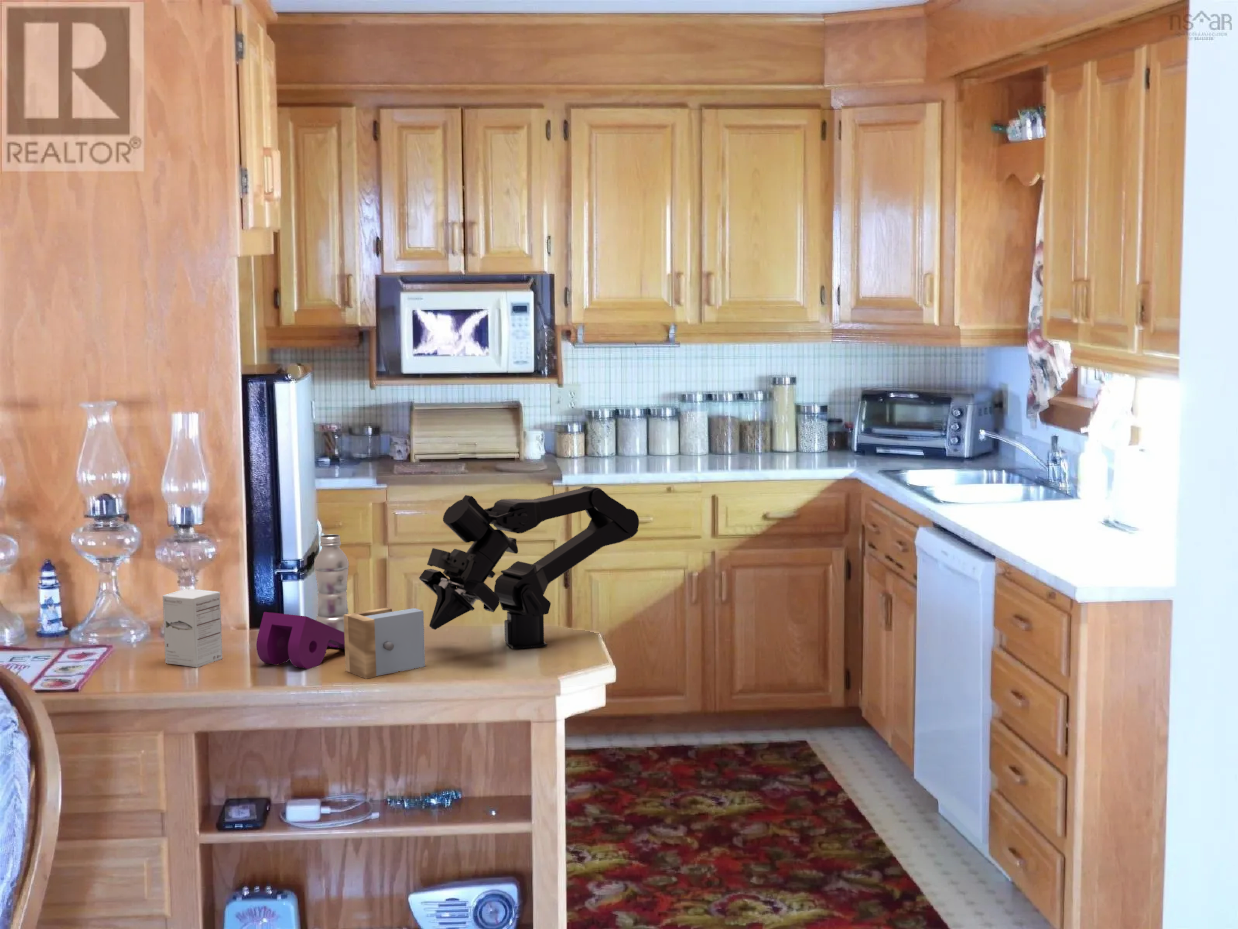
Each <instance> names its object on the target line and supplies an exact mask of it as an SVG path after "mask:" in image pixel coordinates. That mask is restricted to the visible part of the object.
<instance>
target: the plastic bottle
mask: <svg viewBox="0 0 1238 929" xmlns="http://www.w3.org/2000/svg"><path fill="white" fill-rule="evenodd" d="M319 541H320V543H319V544H320V547H321V550H320V551H319V553H318V554H317V556H316V558H315V560H314V563H313V565H314V566H313V567H314V568H313V569H314V572H315V580H316V584H317V585H316V586H317V588H316V589H317V612H316V614H317V616H316V619H315V620H316V621H318V622H321V623H323V624H326V625H328V626H330V627H333V628H335V629H337V630H340V631H342V632H344V614H349V607H348V597H347V596H348V593H347V590H348V576H349V567H350V562H349V560H348V556H347V554H346V553H345V552H344V551H343V549H342V548H340V547H341V546H342V542H341V535H340V534H322V535H320V540H319Z"/></svg>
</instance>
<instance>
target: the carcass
mask: <svg viewBox="0 0 1238 929" xmlns="http://www.w3.org/2000/svg"><path fill="white" fill-rule="evenodd" d="M388 612H393V608H390V607H383V608H376V609H369V610H363V611H358V612H352V613H351V612H349V613H348V614H344V637H345V649H344V657H345V658H344V659H345V660H344V661H345V662H344V663H345V664H344V665H345V666H344V667H345V672H348V673H350V674H353V675H355V676H357V677H360V678H363V679H365V680H367V679H373V678H376V677H377V676H376V652H375V622H374V619H371V618H368V617H365V616H369V615H376V614H382V613H388Z"/></svg>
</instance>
